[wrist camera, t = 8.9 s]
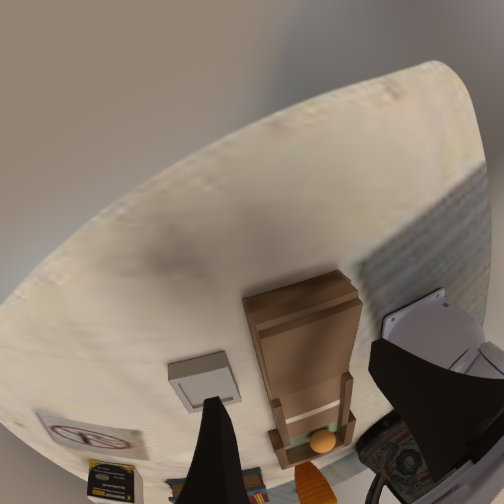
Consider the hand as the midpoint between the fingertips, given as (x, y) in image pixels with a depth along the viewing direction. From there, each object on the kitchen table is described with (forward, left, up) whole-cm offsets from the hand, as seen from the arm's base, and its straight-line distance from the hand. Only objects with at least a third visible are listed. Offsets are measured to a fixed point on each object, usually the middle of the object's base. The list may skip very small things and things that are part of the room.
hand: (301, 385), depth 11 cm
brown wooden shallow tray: (-3, +15, -10) cm, 18 cm away
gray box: (+6, +8, -10) cm, 14 cm away
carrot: (-1, +33, -10) cm, 35 cm away
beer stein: (-18, +40, -10) cm, 45 cm away
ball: (-4, +26, -8) cm, 27 cm away
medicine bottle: (+27, +27, -10) cm, 39 cm away
